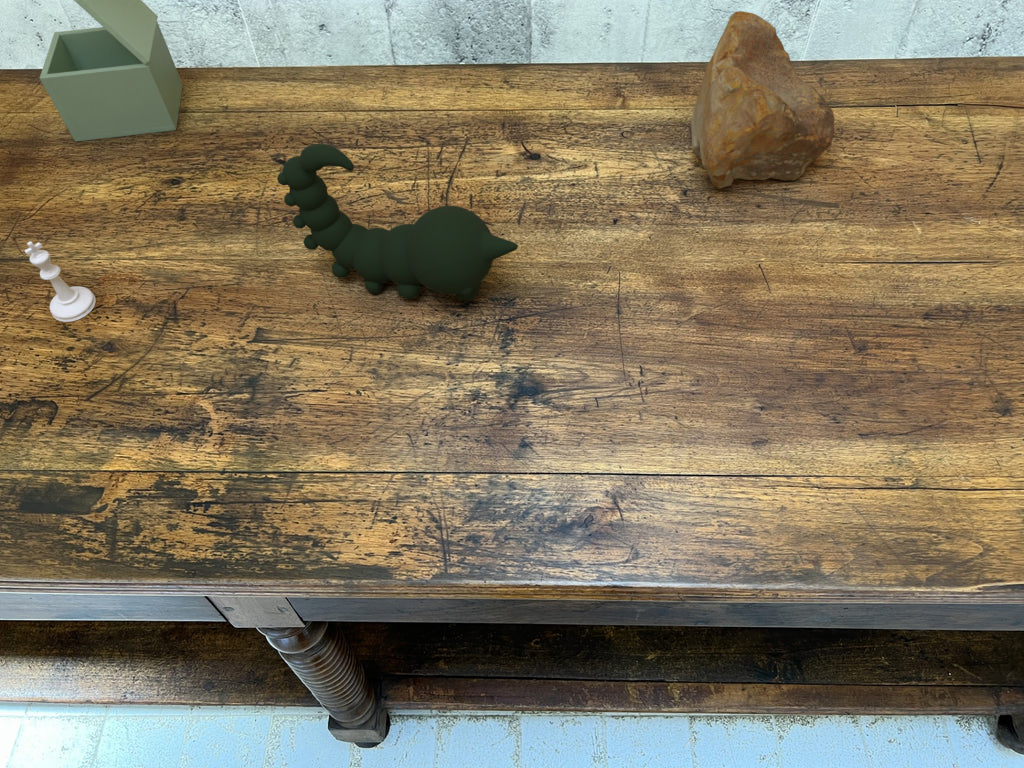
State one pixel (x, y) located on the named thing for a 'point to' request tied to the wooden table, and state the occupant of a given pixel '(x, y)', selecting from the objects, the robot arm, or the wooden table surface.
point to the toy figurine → (391, 236)
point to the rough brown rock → (757, 109)
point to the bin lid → (125, 23)
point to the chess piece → (61, 288)
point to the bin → (111, 85)
